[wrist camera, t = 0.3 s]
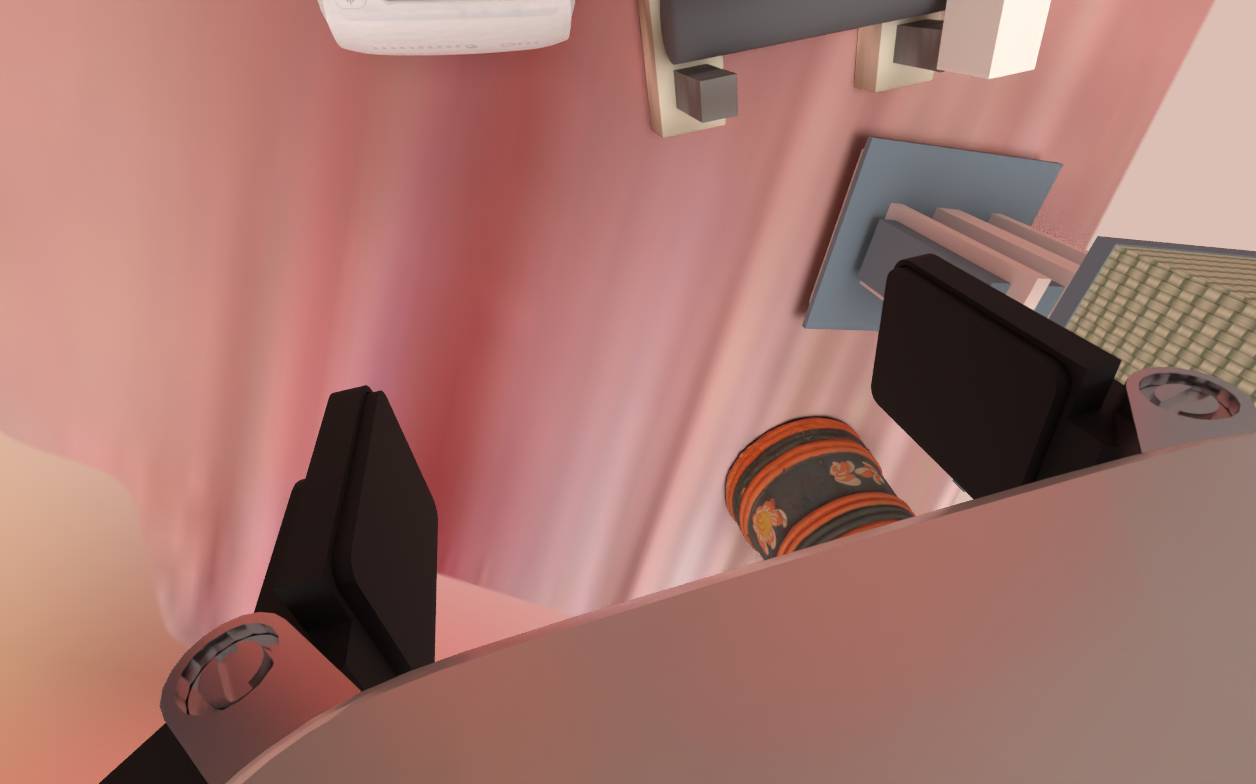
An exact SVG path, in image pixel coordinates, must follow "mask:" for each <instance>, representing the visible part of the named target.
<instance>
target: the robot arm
mask: <svg viewBox="0 0 1256 784" xmlns="http://www.w3.org/2000/svg"><path fill="white" fill-rule="evenodd" d="M1121 361H1122V360H1121V359H1119V358H1117V357H1115V356H1113V355H1112V354H1110V353H1108V352H1106V351H1105V350H1103V349H1101V348H1099V347H1098V346H1096V345H1094V344H1092V343H1090V342H1089V341H1087V340H1085V339H1083V338H1082V337H1080V336H1078V335H1076V334H1075V333H1073V332H1071V331H1069V330H1068V329H1066V328H1064V327H1062V326H1060V325H1059V324H1057V323H1055V322H1053V321H1052V320H1050V319H1048V318H1046V317H1045V316H1043V315H1041V314H1039V313H1037V312H1036V311H1034V310H1032V309H1030V308H1029V307H1027V306H1025V305H1023V304H1022V303H1020V302H1018V301H1016V300H1015V299H1013V298H1011V297H1009V296H1007V295H1006V294H1004V293H1002V292H1000V291H999V290H997V289H995V288H993V287H992V286H990V285H988V284H986V283H984V282H983V281H981V280H979V279H977V278H976V277H974V276H972V275H970V274H969V273H967V272H965V271H963V270H961V269H960V268H958V267H956V266H954V265H953V264H951V263H949V262H947V261H946V260H944V259H942V258H940V257H939V256H937V255H935V254H931V253H929V254H924V255H920V256H915V257H911V258H907V259H902V260H900V261H898V262H897V263H896V265H895V267H894V269H893V270H891V271H890V272H889V273H888V275H887V279H886V286H885V293H884V300H883V307H882V314H881V321H880V327H879V334H878V341H877V348H876V355H875V362H874V369H873V376H872V383H871V390H872V395H873V398H874V400H875V401H876V403H877V404H878V405H879V406H880V407H881V408H882V409H883V410H884V411H885V412H886V413H887V414H888V415H889V416H890V417H891V418H892V419H893V420H894V421H895V422H896V423H897V424H898V425H899V426H900V427H901V428H902V429H903V430H904V431H905V432H906V433H907V434H908V435H909V436H910V437H911V438H912V439H913V440H914V441H915V442H916V443H917V444H918V445H919V446H920V447H921V448H922V449H923V450H924V451H925V452H926V453H927V454H928V455H929V456H930V457H931V458H932V459H933V460H934V461H935V462H936V463H937V464H938V465H939V466H940V467H941V468H942V469H943V470H944V471H946V472H947V473H948V474H949V475H950V476H951V477H952V478H953V479H954V480H955V481H956V482H957V483H958V484H959V485H960V486H961V487H962V488H963V489H964V490H965V491H966V492H967V493H968V494H969V495H970V496H971V497H972V498H973V499H974V500H971V501H967V502H964V503H960V504H957V505H953V506H950V507H946V508H943V509H939V510H936V511H932V512H929V513H925V514H922V515H918V516H915V517H911V518H908V519H904V520H901V521H898V522H894V523H891V524H887V525H884V526H880V527H877V528H874V529H870V530H867V531H863V532H860V533H856V534H853V535H850V536H846V537H843V538H839V539H836V540H832V541H829V542H826V543H822V544H819V545H815V546H812V547H809V548H805V549H802V550H798V551H795V552H791V553H788V554H785V555H781V556H778V557H774V558H771V559H768V560H764V561H761V562H757V563H754V564H751V565H747V566H744V567H740V568H737V569H734V570H730V571H727V572H724V573H720V574H717V575H714V576H710V577H707V578H703V579H700V580H697V581H693V582H690V583H687V584H683V585H680V586H677V587H673V588H670V589H667V590H663V591H660V592H657V593H653V594H650V595H647V596H643V597H640V598H637V599H633V600H630V601H626V602H623V603H620V604H616V605H613V606H610V607H606V608H603V609H600V610H596V611H593V612H590V613H586V614H583V615H580V616H576V617H573V618H570V619H567V620H564V621H560V622H557V623H554V624H551V625H548V626H544V627H542V628H538V629H535V630H532V631H529V632H526V633H522V634H519V635H516V636H513V637H510V638H506V639H503V640H500V641H497V642H494V643H490V644H487V645H484V646H481V647H478V648H475V649H471V650H468V651H465V652H462V653H459V654H457V655H454V656H451V657H448V658H445V659H443V660H440V661H437V662H435V621H436V620H435V619H436V618H435V617H436V578H437V537H438V516H437V510H436V506H435V502H434V500H433V497H432V495H431V493H430V491H429V489H428V486H427V484H426V482H425V480H424V478H423V476H422V473H421V471H420V469H419V467H418V465H417V462H416V460H415V458H414V456H413V454H412V452H411V449H410V447H409V445H408V443H407V441H406V438H405V436H404V434H403V432H402V430H401V427H400V425H399V423H398V421H397V419H396V417H395V414H394V412H393V410H392V408H391V406H390V403H389V401H388V399H387V397H386V395H385V394H384V392H383V391H377V392H372V390H371V389H370V387H368V386H367V385H365V386H361V387H356V388H352V389H348V390H344V391H339V392H335V393H332V394H331V395H330V397H329V400H328V403H327V407H326V410H325V413H324V417H323V420H322V424H321V427H320V431H319V434H318V437H317V441H316V444H315V448H314V451H313V455H312V458H311V461H310V465H309V468H308V472H307V475H306V479H303V480H300V481H298V482H297V483H296V484H295V486H294V488H293V490H292V492H291V495H290V498H289V502H288V505H287V508H286V511H285V515H284V518H283V521H282V524H281V527H280V531H279V534H278V537H277V540H276V544H275V547H274V550H273V553H272V556H271V560H270V563H269V566H268V569H267V572H266V576H265V579H264V582H263V585H262V589H261V592H260V595H259V598H258V601H257V605H256V608H255V611H254V613H252V614H247V615H243V616H239V617H237V618H235V619H233V620H230V621H228V622H226V623H223V624H221V625H220V626H218V627H217V628H215V629H214V630H212V631H211V632H209V633H208V634H206V635H205V636H203V637H202V638H201V639H200V640H199V641H197V642H196V643H195V644H194V645H193V646H192V647H191V648H190V649H189V650H188V651H187V652H186V653H185V654H184V655H183V656H182V657H181V659H180V660H179V661H178V663H177V664H176V665H175V666H174V668H173V669H172V670H171V673H170V674H169V676H168V678H167V681H166V682H165V684H164V687H163V689H162V694H161V701H160V709H161V712H162V715H163V718H164V721H165V722H166V723H165V724H164V725H163V726H162V727H161V728H160V729H159V730H158V731H156V732H155V733H154V734H153V735H152V736H151V737H150V738H149V739H147V740H146V741H145V742H144V743H143V744H142V745H141V746H140V747H139V748H138V749H137V750H135V751H134V752H133V753H132V754H131V755H130V756H129V757H128V758H127V759H125V760H124V761H123V762H122V763H121V764H120V765H119V766H118V767H117V768H116V769H115V770H113V771H112V772H111V773H110V774H109V775H108V776H107V777H106V778H104V779H103V780H102V781H101V782H100V783H99V784H1256V407H1255V405H1254V403H1253V402H1252V401H1251V400H1250V398H1249V397H1248V396H1247V395H1246V394H1245V393H1244V392H1242V391H1241V390H1239V389H1238V388H1236V387H1235V386H1234V385H1232V384H1229V383H1227V382H1225V381H1223V380H1221V379H1219V378H1217V377H1214V376H1210V375H1207V374H1204V373H1201V372H1198V371H1192V370H1187V369H1182V368H1172V367H1154V368H1145V369H1142V370H1139V371H1136V372H1133V373H1132V374H1131V375H1130V376H1129V377H1128V378H1127V380H1126V382H1125V384H1122V383H1120V382H1119V381H1117V380H1115V379H1114V377H1115V375H1116V373H1117V371H1118V368H1119V366H1120V364H1121Z"/></svg>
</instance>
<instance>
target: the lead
mask: <svg viewBox="0 0 1256 784" xmlns="http://www.w3.org/2000/svg"><path fill="white" fill-rule="evenodd" d="M946 3H947V0H660V22H661V31H662V38H663V43H664V47H665V50H666V53H667V56H668V58H669V60H670V62H671V63H672V64H673V65H677V64H681V63H686V62H691V61H696V60H701V59H706V58H711V57H716V56H721V55H726V54H731V53H736V52H741V51H746V50H751V49H756V48H761V47H766V46H771V45H776V44H781V43H786V42H791V41H796V40H801V39H806V38H811V37H816V36H821V35H826V34H831V33H836V32H841V31H846V30H851V29H856V28H861V27H866V26H871V25H876V24H881V23H886V22H891V21H895V20H900V19H905V18H910V17H915V16H920V15H925V14H930V13H935V12H940V11H945V10H946Z"/></svg>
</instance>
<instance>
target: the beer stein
mask: <svg viewBox="0 0 1256 784" xmlns="http://www.w3.org/2000/svg"><path fill="white" fill-rule="evenodd" d="M726 503H727V506H728V509H729V512H730V514H731V516H732V517H733V518H734V520H735V521H736V522H737V523H738V525H739V527H740V530H741V531H742V533H743V536H744V537H745V538H746V540H747V542H748V543H749V544H750V545H751V546H752V547H753V548H754V549H755V550H756V551H758V552H759V553H760V554H761V555H762V557H763V558H764V560H768V559H771V558H774V557H778V556H781V555H785V554H788V553H791V552H795V551H798V550H802V549H805V548H809V547H812V546H815V545H819V544H822V543H826V542H829V541H832V540H836V539H839V538H843V537H846V536H850V535H853V534H856V533H860V532H863V531H867V530H870V529H874V528H877V527H880V526H884V525H887V524H891V523H894V522H898V521H901V520H904V519H908V518H911V517H915V514H914V513H913V512H912V511H911V509H910V507H909V506H908V505H907V504H906V503H905V502H904V501H903V500H901V499H899V498H898V497H897V496H896V494H895V493H894V491H893V490H892V488H891V487H890V486H889V484H888V483H887V481H886V480H885V479H884V477H883V476H882V470H881V468H880V466H879V464H878V462H877V461H876V460H875V458H874V457H873V456H872V454H871V452H870V451H869V449H868V448H866V446H865V445H864V444H863V442H862V441H861V439H860V437H859V436H858V434H857V433H856V432H855V431H854V430H853V429H852V428H851V427H849V426H848V425H846V424H844V423H842V422H839V421H836V420H832V419H829V418H820V417H808V418H804V419H799V420H796V421H793V422H790V423H787V424H783V425H781V426H779V427H777V428H775V429H772V430H770V431H768V432H766V433H765V434H764V435H762V436H761V437H760V438H759V439H757V440H756V441H755V443H753V444H752V445H750V446H749V447H747V449H746V450H745V451H743V452H742V453H741V454H740V455H739V457H738V459H737V460H736V461H735V462H734V464H733V466H732V468H731V469H730V471H729V473H728V475H727V483H726Z"/></svg>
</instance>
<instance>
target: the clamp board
mask: <svg viewBox="0 0 1256 784" xmlns="http://www.w3.org/2000/svg"><path fill="white" fill-rule="evenodd" d="M638 8H639V17H640V26H641V35H642V44H643V53H644V63H645V72H646V81H647V90H648V99H649V108H650V118H651V127H652V130H653V131H654V132H656V133H657V134H658V135H660V136H661V137H662V138H666V137H670V136H675V135H679V134H684V133H689V132H693V131H698V130H703V129H707V128H712V127H717V126H721V125H726V124H725V118H728V117H733V116H738V103H737V74H735V73H733V72H730V71H727V70H724V69H723V55H721V56H716V57H711V58H706V59H701V60H696V61H691V62H686V63H681V64H677V65H673V64H672V63H671V62H670V60H669V58H668V56H667V53H666V50H665V47H664V43H663V38H662V31H661V22H660V0H638ZM942 15H943V11H940V12H935V13H930V14H925V15H920V16H915V17H910V18H905V19H900V20H895V21H891V22H886V23H881V24H876V25H871V26H866V27H861V28H858V40H857V53H856V66H855V78H854V87H857V88H861V89H865V90H868V91H872V92H880V91H884V90H889V89H894V88H898V87H903V86H908V85H912V84H917V83H922V82H926V81H931V80H933V75H934V71H937V72H944V71H943V70H938V69H937V62H938V56H939V49H940V43H941V36H942V29H943V23H944V20H942Z"/></svg>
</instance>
